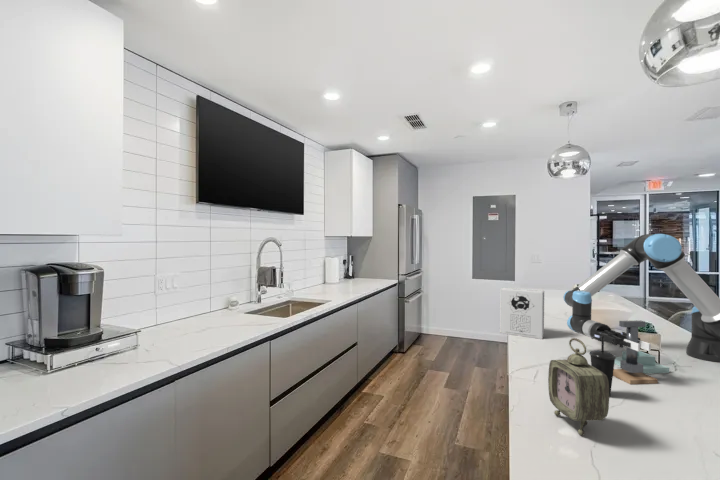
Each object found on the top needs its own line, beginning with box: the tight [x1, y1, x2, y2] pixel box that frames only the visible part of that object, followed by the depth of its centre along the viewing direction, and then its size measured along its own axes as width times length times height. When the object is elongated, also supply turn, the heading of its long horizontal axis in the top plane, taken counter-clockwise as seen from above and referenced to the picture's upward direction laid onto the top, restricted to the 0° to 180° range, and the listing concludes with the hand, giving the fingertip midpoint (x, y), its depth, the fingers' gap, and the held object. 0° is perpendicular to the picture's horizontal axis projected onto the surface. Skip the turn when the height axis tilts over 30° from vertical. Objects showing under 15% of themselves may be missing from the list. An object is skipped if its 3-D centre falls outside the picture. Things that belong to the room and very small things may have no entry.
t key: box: [618, 320, 646, 373], centre depth 139 cm, size 9×5×19 cm, turn 95°
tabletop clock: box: [547, 337, 610, 437], centre depth 104 cm, size 14×9×25 cm, turn 4°
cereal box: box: [499, 287, 545, 340], centre depth 200 cm, size 22×8×25 cm, turn 58°
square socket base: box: [614, 350, 670, 374], centre depth 151 cm, size 14×14×6 cm
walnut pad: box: [613, 368, 659, 385], centre depth 139 cm, size 11×11×2 cm
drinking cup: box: [589, 336, 617, 397], centre depth 125 cm, size 8×8×20 cm
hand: (644, 347), depth 133 cm, fingers closed on t key, 3 cm apart
